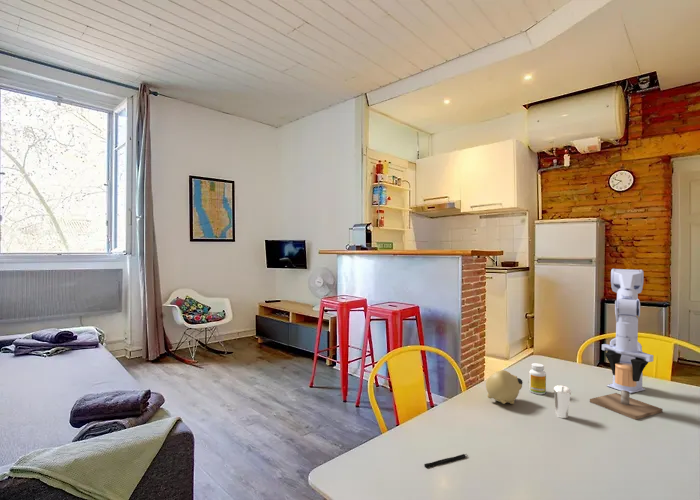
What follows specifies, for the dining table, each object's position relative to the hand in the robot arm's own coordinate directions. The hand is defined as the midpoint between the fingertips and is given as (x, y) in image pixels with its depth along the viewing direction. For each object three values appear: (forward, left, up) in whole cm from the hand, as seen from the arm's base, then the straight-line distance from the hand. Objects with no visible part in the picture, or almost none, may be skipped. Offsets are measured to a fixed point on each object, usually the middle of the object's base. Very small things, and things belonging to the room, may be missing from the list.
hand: (625, 377), depth 123 cm
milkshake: (+26, -3, -10) cm, 28 cm away
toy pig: (+34, -18, -10) cm, 40 cm away
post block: (0, 0, -10) cm, 10 cm away
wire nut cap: (0, 0, -2) cm, 2 cm away
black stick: (+74, +3, -10) cm, 75 cm away
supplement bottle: (+16, -20, -10) cm, 27 cm away
